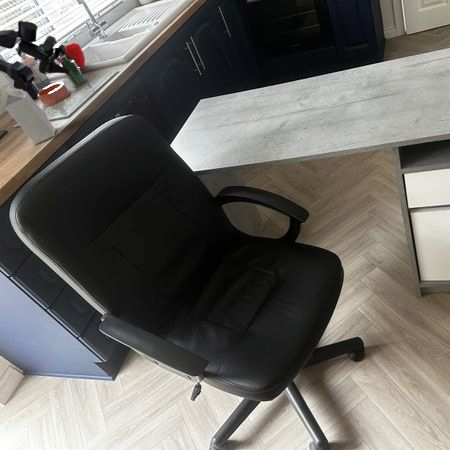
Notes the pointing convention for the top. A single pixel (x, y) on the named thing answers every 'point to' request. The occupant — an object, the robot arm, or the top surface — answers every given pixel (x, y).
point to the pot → (53, 94)
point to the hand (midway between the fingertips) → (73, 68)
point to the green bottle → (72, 71)
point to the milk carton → (28, 115)
